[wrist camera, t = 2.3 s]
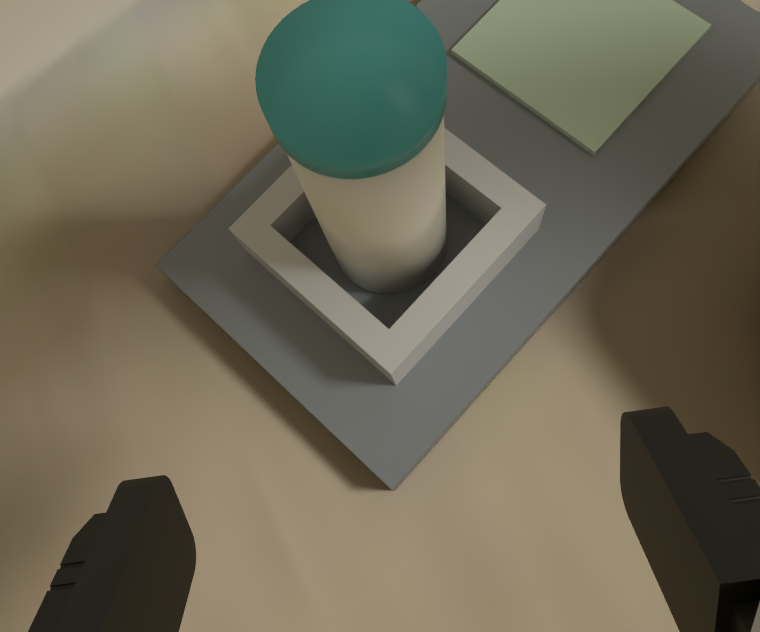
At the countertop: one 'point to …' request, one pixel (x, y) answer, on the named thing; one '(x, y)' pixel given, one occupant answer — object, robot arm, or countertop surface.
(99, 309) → the countertop surface
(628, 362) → the countertop surface
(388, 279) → the ball
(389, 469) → the board
